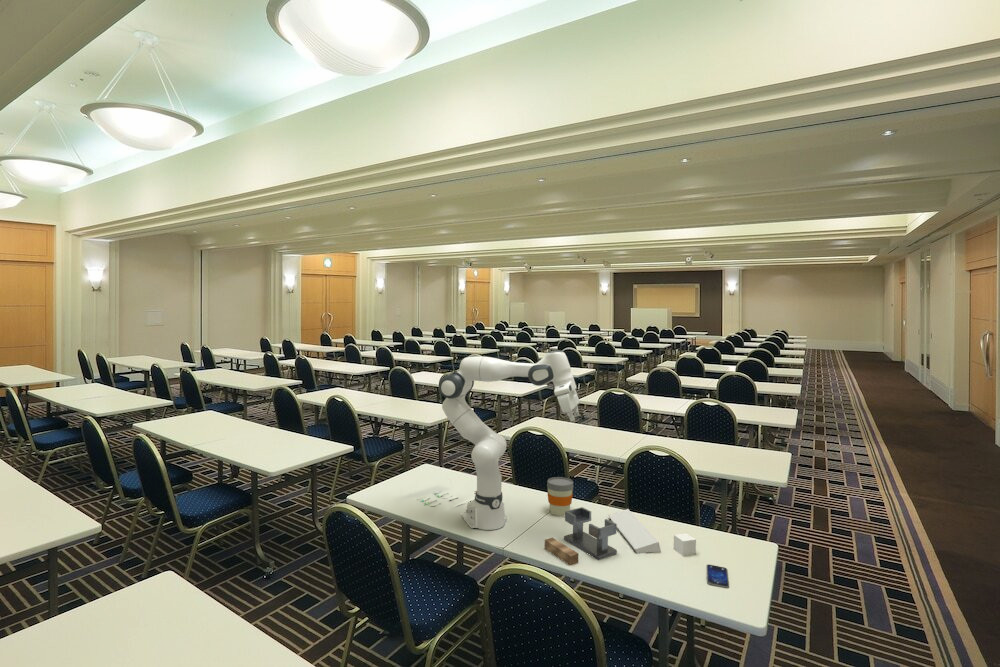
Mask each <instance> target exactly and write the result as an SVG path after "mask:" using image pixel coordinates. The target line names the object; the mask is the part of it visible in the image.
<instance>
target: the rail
mask: <svg viewBox="0 0 1000 667" xmlns="http://www.w3.org/2000/svg"><path fill="white" fill-rule="evenodd" d="M544 550H546V551H547V550H548V551H547V552H549V553H550V552H551V554H552V555H553V554H554V555H553V556H555V557H557V558H558V557H559V558H558V559H560V560H561V559H562V560H561V561H563V562H564V561H565V562H564V563H565V564H567V563H568V564H567V565H569V566H570V565H571V566H574V565H576V564H575V563H577V564H579V554H580V553H579V552H577V551H575V550H574V549H572V548H571V547H569V546H567V545H566V544H564V543H562V542H560V541H559V540H558V539H556V538H555V537H548V538H546V539H544ZM573 564H574V565H573Z"/></svg>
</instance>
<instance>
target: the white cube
mask: <svg viewBox="0 0 1000 667" xmlns="http://www.w3.org/2000/svg"><path fill="white" fill-rule="evenodd" d="M696 543H697V539H696V538H695V537H693V536H691V535H690V534H689V533H687V532H686V533H677V534H673V548H672V549H673V550H674V551H675V552H677V553H678V554H679V555H681V556H682V557H685V556H690V555H696V550H697V547H696V546H697V544H696Z"/></svg>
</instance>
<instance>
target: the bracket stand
mask: <svg viewBox="0 0 1000 667" xmlns="http://www.w3.org/2000/svg"><path fill="white" fill-rule="evenodd" d="M591 521H592V511H591V510H589V509H587V508H586V507H583V506H581V507H578V508H573V509H570V510H569V511H565V516H564V522H567V523H568V524H569V525H572V533H570V534H567V535H566V534H565V535H563V540H564V541H566V542H567V543H569V544H571V545H572V546H574V547H576V548H577V549H579V550H580V551H582V550H583V551H582V552H584V553H586V554H587V553H588V554H587V555H589V554H590V555H589V556H590V557H592V556H593V557H592V558H594V559H596V560H597V561H599V560H603V559H604V558H608V557H611V556H614V555H616V554H617V552H618V550H617V549H616V548H615V547H612V546H610V545H609V537H611V536H614V535H617V529H618V528H617V524H615V523H613V522H612V521H611V520H610V519H607V518H606V519H604V526H603V527H598V526H596V525H595V524H593V523H589V524H588V533H587V532H585V531H584V524H585V523H588V522H591Z"/></svg>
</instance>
